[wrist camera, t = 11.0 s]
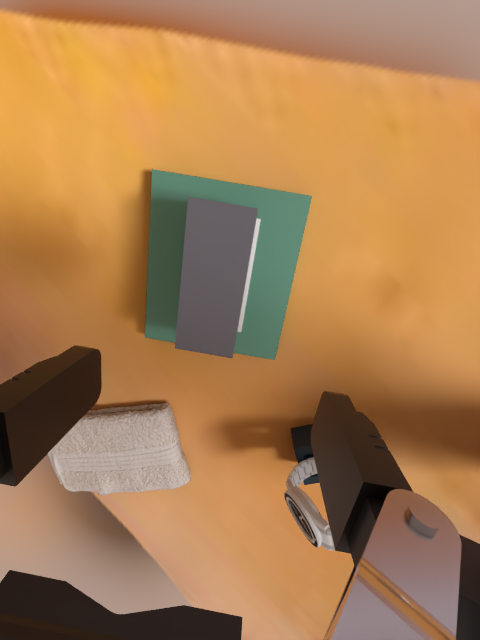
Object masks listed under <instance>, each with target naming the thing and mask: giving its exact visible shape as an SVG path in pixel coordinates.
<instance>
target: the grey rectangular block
mask: <svg viewBox="0 0 480 640" xmlns="http://www.w3.org/2000/svg"><path fill="white" fill-rule="evenodd" d="M257 214H258V208H252V207H246V206H240V205H235V204H229V203H223V202H217V201H211V200H205V199H200V198H194V197H188V205H187V216H186V228H185V239H184V250H183V261H182V273H181V284H180V295H179V307H178V318H177V329H176V341H175V348H177V349H182V350H188V351H194V352H200V353H205V354H211V355H217V356H222V357H228V358H232V357H233V352H234V347H235V342H236V337H237V331H238V325H239V320H240V314H241V308H242V302H243V296H244V290H245V284H246V279H247V273H248V267H249V261H250V255H251V249H252V243H253V238H254V232H255V226H256V220H257Z"/></svg>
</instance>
